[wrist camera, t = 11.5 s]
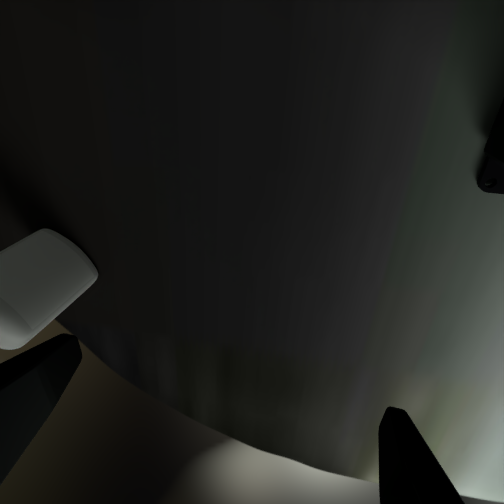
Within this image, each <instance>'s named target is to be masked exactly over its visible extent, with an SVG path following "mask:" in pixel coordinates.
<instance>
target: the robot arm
mask: <svg viewBox="0 0 504 504" xmlns="http://www.w3.org/2000/svg"><path fill="white" fill-rule="evenodd" d="M484 152H485V153H486V155H487V156H486V159H485V162H484V164H483V167H482V169H481V172H480V174H479V177H478V180H477V185H478V187H479V188H480V189H481V190H482V191H484V192H488V193H498V194H504V99H503V101H502V104H501V106H500V109H499V112H498V114H497V117H496V120H495V122H494V125H493V127H492V130H491V133H490V135H489V138H488V140H487V143H486V146H485V148H484ZM490 178H494V181H493V183H492V184H490V185H485V183H486V181H487V180H488V179H490ZM81 359H82V352H81V349H80V345H79V342H78V339H77V337H76V336H74V335H70V334H64V333H63V334H60V335H57V336H55V337H53V338H51V339H49V340H47V341H45V342H43V343H41V344H39V345H37V346H35V347H33V348H31V349H29V350H27V351H25V352H23V353H21V354H19V355H17V356H15V357H13V358H11V359H9V360H7V361H5V362H3V363H1V364H0V485H1V484H2V482H3V481H4V479H5V478H6V476H7V475H8V473H9V472H10V471H11V469H12V468H13V466H14V465H15V464H16V462H17V461H18V459H19V458H20V456H21V455H22V454H23V452H24V451H25V449H26V448H27V446H28V445H29V444H30V442H31V441H32V439H33V438H34V437H35V435H36V434H37V432H38V431H39V429H40V428H41V427H42V425H43V424H44V422H45V421H46V419H47V418H48V416H49V415H50V413H51V412H52V411H53V409H54V407H55V406H56V404H57V402H58V401H59V399H60V397H61V395H62V394H63V392H64V390H65V389H66V387H67V385H68V383H69V382H70V380H71V378H72V376H73V374H74V373H75V371H76V369H77V368H78V366H79V364H80V362H81ZM378 436H379V492H380V504H465V503H464V501H463V500H462V498H461V497H460V495H459V493H458V492H457V490H456V489H455V487H454V486H453V484H452V482H451V481H450V479H449V478H448V476H447V475H446V473H445V471H444V470H443V468H442V467H441V465H440V464H439V462H438V460H437V459H436V457H435V456H434V454H433V453H432V451H431V450H430V448H429V446H428V445H427V443H426V442H425V440H424V439H423V437H422V435H421V434H420V432H419V431H418V429H417V428H416V426H415V424H414V423H413V421H412V420H411V418H410V417H409V415H408V414H407V412H406V411H405V410H403V409H400V408H395V407H390V406H389V407H388V408H387V409H386V411H385V413H384V416H383V418H382V420H381V423H380V425H379V433H378Z"/></svg>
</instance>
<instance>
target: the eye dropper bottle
mask: <svg viewBox="0 0 504 504" xmlns="http://www.w3.org/2000/svg"><path fill="white" fill-rule="evenodd" d="M97 277H98V272H97V269H96V268H95V266H94V265H93V263H92V262H91V260H90V259H89V258H88V257H87V255H86V254H85V253H84V252H83V251H82V250H81V249H80V248H79V247H78V246H76V245H75V244H74V243H73V242H71V241H70V240H69V239H67V238H66V237H64V236H62V235H61V234H59V233H57V232H55V231H53V230H50V229H41V230H39V231H37V232H35V233H33V234H31V235H29V236H28V237H26V238H24V239H22V240H20V241H19V242H17V243H15V244H13V245H12V246H10V247H8V248H6V249H4V250H3V251H1V252H0V348H1V349H7V350H11V349H12V350H13V349H17V348H20V347H22V346H23V345H24V344H26V343H27V342H28V341H29V340H30V339H32V338H33V337H34V336H35V335H36V334H38V333H39V332H40V331H41V330H42V329H43V328H44V327H45V326H46V325H48V324H49V323H50V322H51V321H52V320H53V319H54V318H56V317H57V316H58V315H59V314H60V313H61V312H62V311H63V310H64V309H66V308H67V307H68V306H69V305H70V304H71V303H72V302H73V301H74V300H76V299H77V298H78V297H79V296H80V295H81V294H82V293H83V292H84V291H86V290H87V289H88V288H89V287H90V286H91V285H92V284H93V283H94V282H95V281H96V279H97Z"/></svg>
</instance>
